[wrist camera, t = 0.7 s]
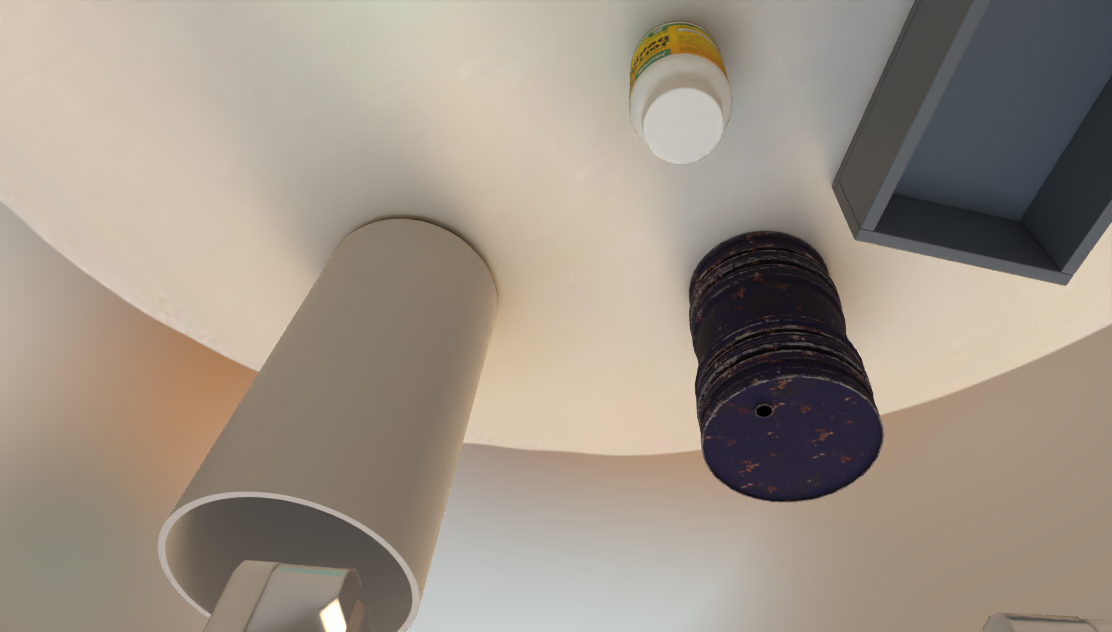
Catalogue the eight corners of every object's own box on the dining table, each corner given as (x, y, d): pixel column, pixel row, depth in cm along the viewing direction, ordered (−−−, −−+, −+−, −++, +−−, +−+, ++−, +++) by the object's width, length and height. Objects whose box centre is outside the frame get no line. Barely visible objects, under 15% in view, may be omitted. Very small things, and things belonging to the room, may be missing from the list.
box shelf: (960, -101, 39) (1011, -78, 34) (1193, -46, 40) (1281, -14, 34) (830, 186, 49) (854, 240, 44) (1019, 228, 50) (1066, 286, 44)
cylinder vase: (463, 377, 62) (376, 679, 41) (313, 316, 59) (142, 604, 39) (526, 259, 55) (457, 554, 34) (358, 184, 52) (178, 453, 32)
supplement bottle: (688, 124, 48) (697, 196, 40) (613, 82, 47) (607, 147, 39) (740, 47, 45) (761, 108, 37) (661, 0, 44) (665, 53, 36)
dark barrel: (856, 306, 54) (917, 463, 42) (734, 366, 58) (757, 525, 46) (786, 202, 50) (831, 343, 38) (659, 276, 54) (664, 424, 42)
